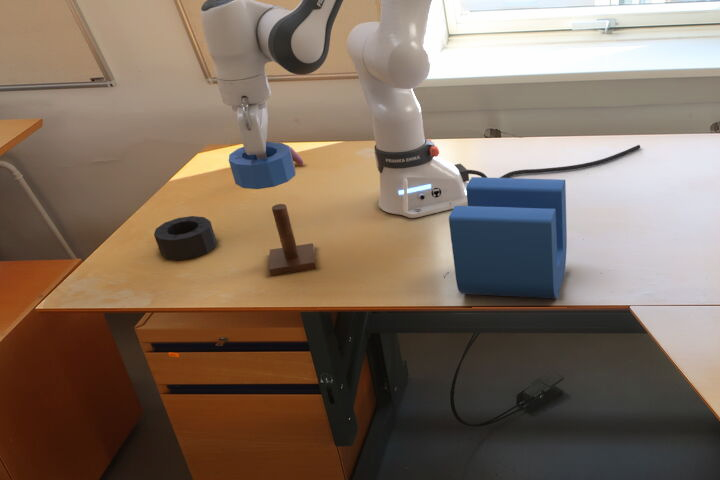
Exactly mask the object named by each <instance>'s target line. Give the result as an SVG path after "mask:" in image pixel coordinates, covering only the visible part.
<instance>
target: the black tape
mask: <svg viewBox="0 0 720 480" xmlns="http://www.w3.org/2000/svg"><path fill="white" fill-rule="evenodd" d="M153 236H154V239H155V241H156V244H157V247H158V250H159V252H160V255H161V256H162V257H163V258H165V259H166V260H169V261H170V260H171V261H172V260H173V261H184V260H185V261H186V260H191V259H192V260H193V259H196V258H198V257H201V256H203V255H206V254H209V252H211V251H212V250H213V249H214V248H216V246H217V238H216V234H215V231H214V227H213V225H212V221H211V220H209V219H208V218H206V217H205V216H196V215H190V216H189V215H188V216H183V217H177V218H174V219H171V220H168V221H166V222H163V223H162V224H160V225H159V226H157V227H156V228H155V231H154V234H153Z"/></svg>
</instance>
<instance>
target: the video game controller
mask: <svg viewBox="0 0 720 480" xmlns="http://www.w3.org/2000/svg"><path fill="white" fill-rule="evenodd" d="M286 145H287V146H289V145H288V144H286ZM289 147H290V151H291V155H292V159H293V163H295V164H297V165H298V166H301V167H302V166H304V160H303V158H302V156H301V155H300V154H298V152H296V151H295V149H294V148H293V147H292V146H289Z"/></svg>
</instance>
